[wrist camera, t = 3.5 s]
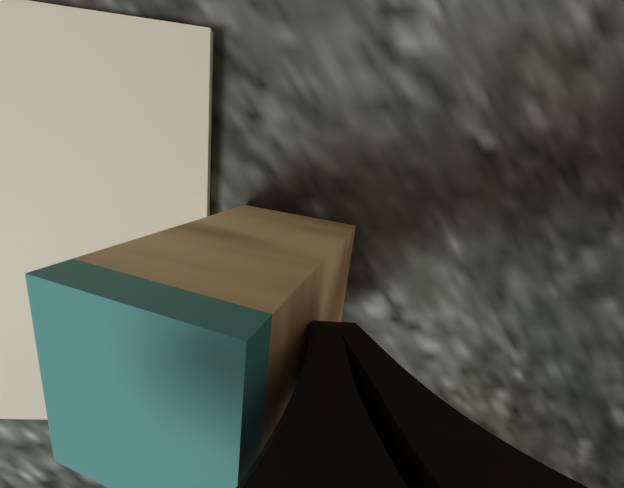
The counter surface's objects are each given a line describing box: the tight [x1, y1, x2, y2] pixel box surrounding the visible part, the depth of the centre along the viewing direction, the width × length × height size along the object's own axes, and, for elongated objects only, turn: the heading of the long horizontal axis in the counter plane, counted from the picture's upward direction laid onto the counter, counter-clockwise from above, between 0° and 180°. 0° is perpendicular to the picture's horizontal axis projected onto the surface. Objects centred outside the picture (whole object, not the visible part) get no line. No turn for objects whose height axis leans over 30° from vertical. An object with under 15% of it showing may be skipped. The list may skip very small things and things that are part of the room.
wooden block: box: [25, 205, 356, 488], centre depth 11 cm, size 5×5×9 cm
